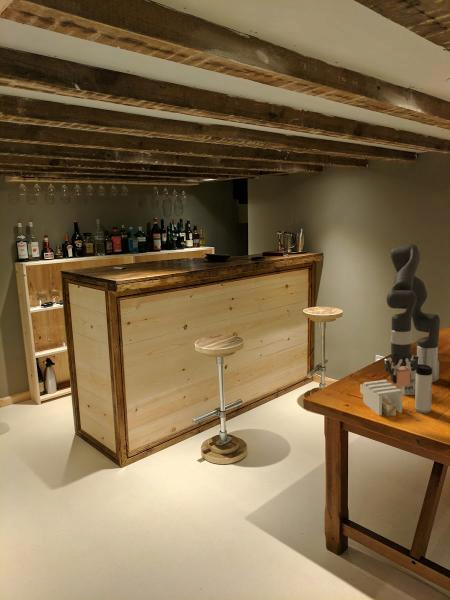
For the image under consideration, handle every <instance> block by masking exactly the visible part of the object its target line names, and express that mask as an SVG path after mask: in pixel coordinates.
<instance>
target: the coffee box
mask: <svg viewBox="0 0 450 600" xmlns="http://www.w3.org/2000/svg"><path fill="white" fill-rule="evenodd" d="M410 363H411V359H410V361H409V364H410ZM417 364H418V362H417ZM401 367H402V366H401ZM403 367H404V366H403ZM415 385H416V370H415V371H412V372H411V380H410V385H407V386H400V387H398V386H396V385H395V386H396V387H397V389H400V390H402V395H404V396H411V395H412V396H413V395H415Z"/></svg>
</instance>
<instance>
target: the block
mask: <svg viewBox="0 0 450 600" xmlns="http://www.w3.org/2000/svg"><path fill="white" fill-rule="evenodd" d="M396 375H397V383H396V384H394V383H393V382H392V381H391V380H390V381H391V382H390V383H391V384H392V385H394V386H398V387H400V386H407V385H410V370H408V369H407V368H404V367H403V366H402V367H399V370H398V371H397V374H396Z"/></svg>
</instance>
